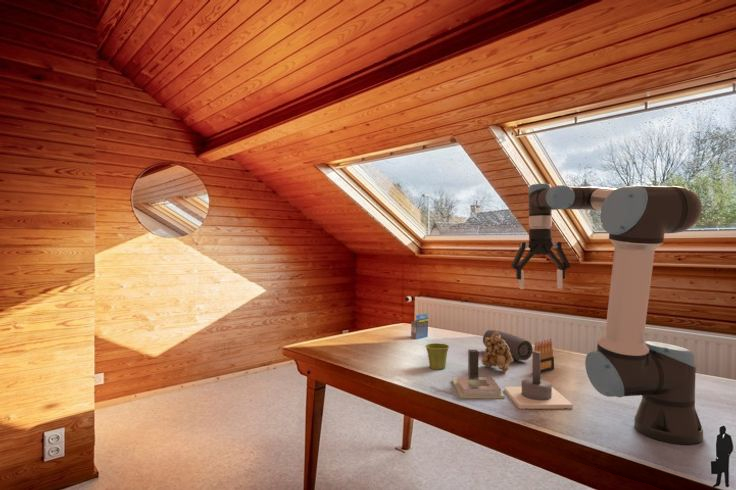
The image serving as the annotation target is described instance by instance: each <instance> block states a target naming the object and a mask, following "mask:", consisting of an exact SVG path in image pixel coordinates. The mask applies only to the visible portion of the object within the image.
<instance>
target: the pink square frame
mask: <svg viewBox="0 0 736 490" xmlns="http://www.w3.org/2000/svg"><path fill="white" fill-rule="evenodd" d="M467 357H468V358H467V360H468V361H467V362H468V363H467V369H468V370H467V372H468V373H467V376H466V377H465V376H463V377H462V376H461V377H460V376H459V377H458V376H457V377H456V379H457V384H458V386H459V388H460V389H461V391H462V393H463V395H501V392H502V388H501V387H500V386H499V384H498V383H497V382H496V381H495V380H494V379H493V378H492V377H491V376H479V351H478V350H477V349H468V350H467Z"/></svg>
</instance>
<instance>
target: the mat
mask: <svg viewBox="0 0 736 490" xmlns="http://www.w3.org/2000/svg"><path fill="white" fill-rule="evenodd" d="M451 382H452V384H453V386H454V388H455V390H456V392H457V394H458V396H459V397H460V399H505V398H506V397H505V394H504V393H503V392H502V391H501V395H463V393H462V391H461V389H460V388H459V386H458V384H457V378H451Z"/></svg>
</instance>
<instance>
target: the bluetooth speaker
mask: <svg viewBox="0 0 736 490" xmlns="http://www.w3.org/2000/svg"><path fill="white" fill-rule="evenodd" d="M495 332H498V333H499V334H500V335H501V339H503V340H505V343H507V345H508V346H509V349H510V353H511V356H512V358H513V361H515V360H520V361H527V360H529V359H530V358H532V352H533V351H534V348H533V346H532V342H530V341H528V340H527V339H524V338H522V337H519V336H518V335H517V336H516V335H514V334H510V333H508V332H504V331H499V330H496V329H488V330H486V331H485V333H484V335H483V336H482V343H483V346H485V344H484V342H486V341H485V338H490V337H491V335H492V334H494V333H495Z"/></svg>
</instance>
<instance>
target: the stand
mask: <svg viewBox="0 0 736 490" xmlns="http://www.w3.org/2000/svg"><path fill="white" fill-rule="evenodd" d="M531 358H532V363H531V364H532V371H531V372H532V378H526V379H522V380H521V386H503V389H504V390H503V391H504V392H505V393H506V395H507V396H509V398H510V399H511V401H513V403H514V404H515V405H516V406H517V408H518V409H522V410H523V409H526V408H527V409H528V410H530V409H533V410H534V409H538V410H539V409H548V410H549V409H552V410H554V409H559V410H560V409H564V408H568V410H569V409H572V410H573V408H574V406H573V405H574V404H572V402H570V400H568V399H567V398H566V397H564V396H563V395H562V394H561V393H560V392H559V391H558V390H557V389H556V388H555V387H553V386H552V383H551V382H549V381H547V380H544V379H541V373H540V352H538V351H534V350H533V352H532V355H531ZM564 410H565V409H564Z"/></svg>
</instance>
